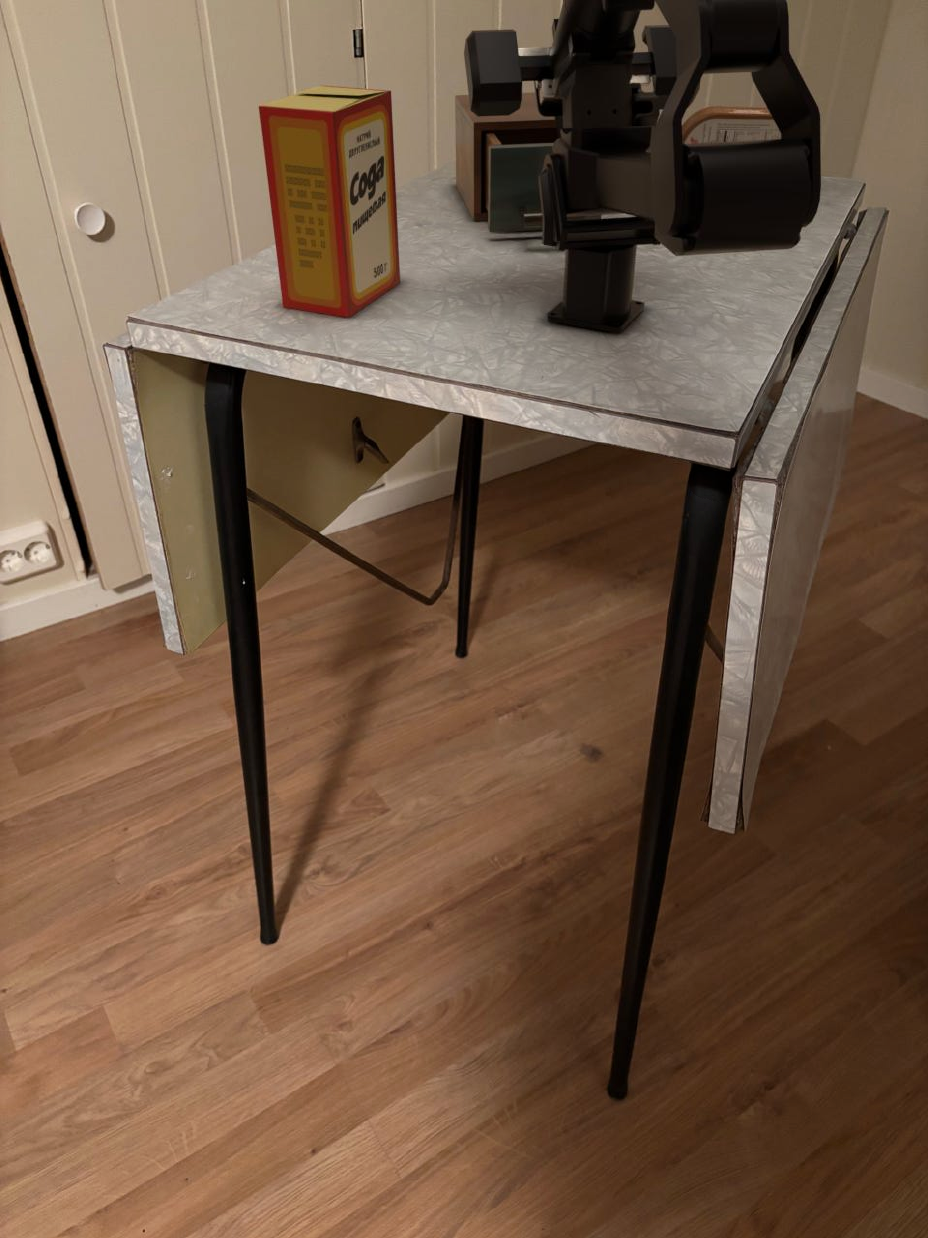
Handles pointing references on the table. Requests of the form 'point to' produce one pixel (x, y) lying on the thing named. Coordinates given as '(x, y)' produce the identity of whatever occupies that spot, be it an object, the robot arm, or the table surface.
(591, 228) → the robot arm
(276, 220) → the baking soda box
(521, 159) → the drawer
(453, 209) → the table surface
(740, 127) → the tin
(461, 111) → the cabinet
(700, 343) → the table surface
